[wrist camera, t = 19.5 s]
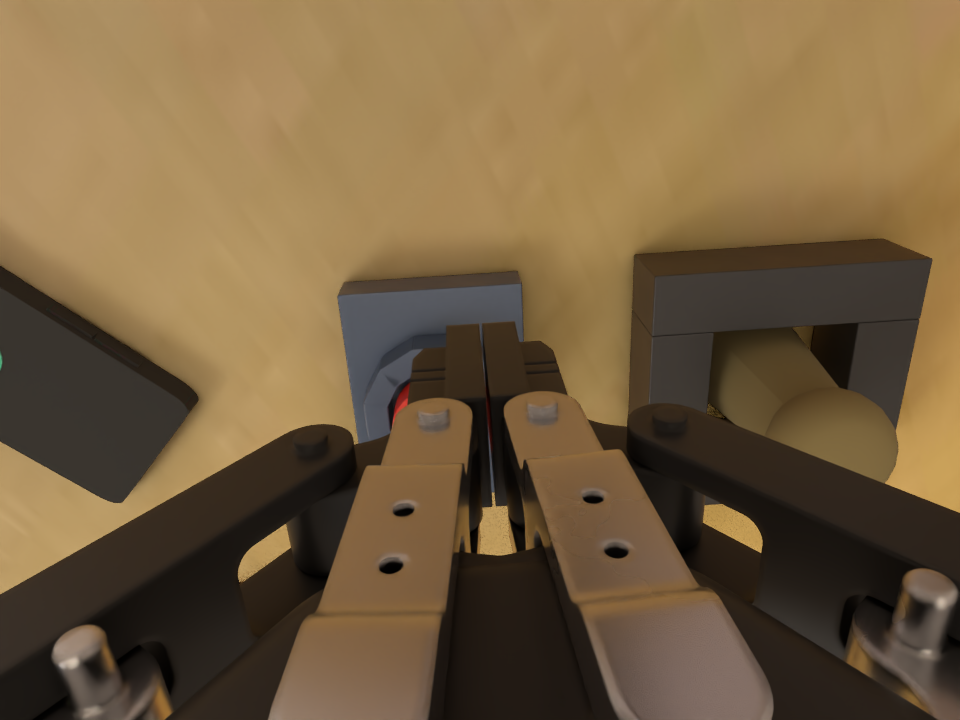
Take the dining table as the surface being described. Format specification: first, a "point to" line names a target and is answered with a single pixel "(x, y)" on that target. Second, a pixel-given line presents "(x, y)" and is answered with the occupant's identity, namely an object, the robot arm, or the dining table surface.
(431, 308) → the power block
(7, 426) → the smart home device
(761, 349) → the cork
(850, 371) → the socket
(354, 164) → the dining table surface
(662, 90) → the dining table surface
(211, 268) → the dining table surface
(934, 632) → the robot arm
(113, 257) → the dining table surface
